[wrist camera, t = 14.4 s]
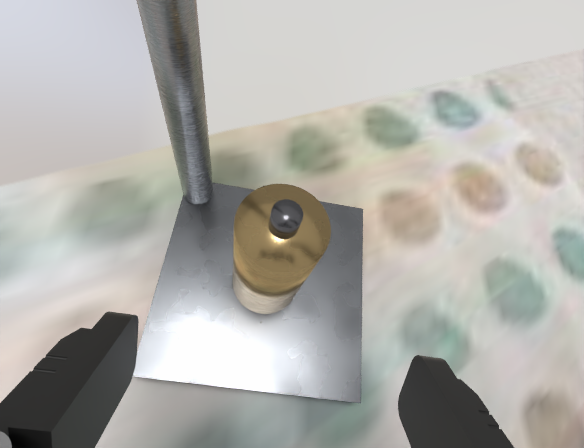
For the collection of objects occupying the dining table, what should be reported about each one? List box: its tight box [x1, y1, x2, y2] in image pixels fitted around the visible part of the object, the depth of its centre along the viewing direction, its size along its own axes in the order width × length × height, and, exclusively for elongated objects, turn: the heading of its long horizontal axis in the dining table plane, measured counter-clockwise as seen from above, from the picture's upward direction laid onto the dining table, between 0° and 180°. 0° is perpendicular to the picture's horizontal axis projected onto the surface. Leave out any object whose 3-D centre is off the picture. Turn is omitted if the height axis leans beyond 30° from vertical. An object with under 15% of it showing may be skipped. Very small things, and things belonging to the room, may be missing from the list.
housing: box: [233, 184, 331, 314], centre depth 19 cm, size 4×4×10 cm
